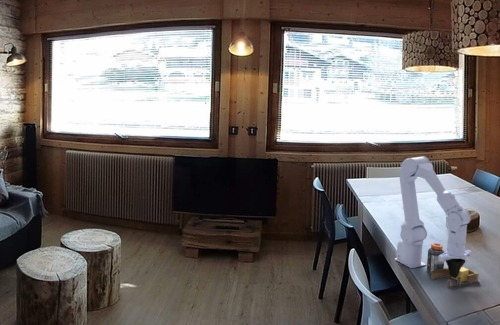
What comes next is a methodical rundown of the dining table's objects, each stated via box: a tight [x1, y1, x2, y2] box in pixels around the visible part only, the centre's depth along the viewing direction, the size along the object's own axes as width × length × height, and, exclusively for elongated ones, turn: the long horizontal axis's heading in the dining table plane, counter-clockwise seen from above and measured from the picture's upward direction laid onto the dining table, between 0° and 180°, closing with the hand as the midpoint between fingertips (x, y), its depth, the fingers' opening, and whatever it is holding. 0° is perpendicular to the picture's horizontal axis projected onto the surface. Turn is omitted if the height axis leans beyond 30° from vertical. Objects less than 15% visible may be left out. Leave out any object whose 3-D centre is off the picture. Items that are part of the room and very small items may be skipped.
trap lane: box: [430, 265, 480, 290], centre depth 144 cm, size 9×15×3 cm, turn 112°
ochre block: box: [450, 266, 469, 283], centre depth 145 cm, size 4×4×4 cm
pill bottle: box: [426, 242, 446, 274], centre depth 150 cm, size 6×6×11 cm
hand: (453, 276), depth 144 cm, fingers closed
